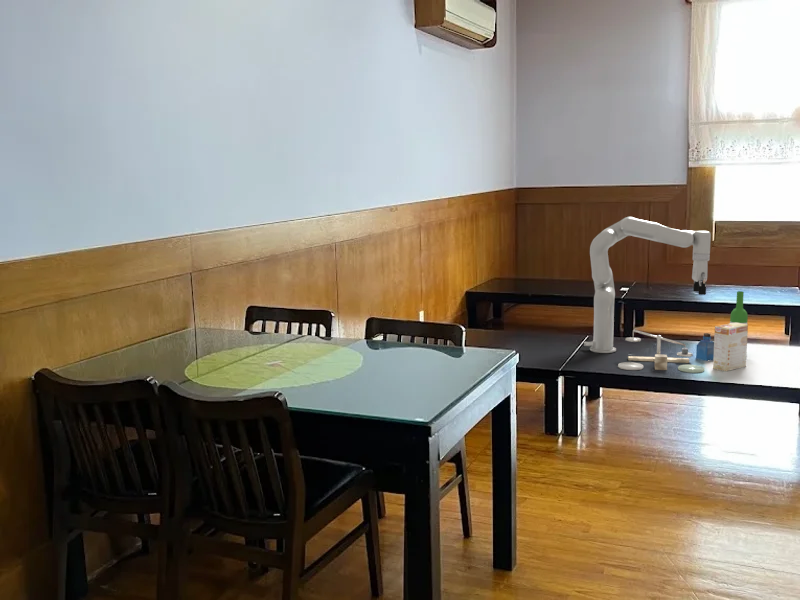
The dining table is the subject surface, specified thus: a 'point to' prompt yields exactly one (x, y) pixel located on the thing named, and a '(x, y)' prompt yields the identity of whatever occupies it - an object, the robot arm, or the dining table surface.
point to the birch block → (660, 362)
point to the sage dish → (691, 368)
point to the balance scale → (659, 338)
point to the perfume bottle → (705, 348)
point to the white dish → (630, 366)
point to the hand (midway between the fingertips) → (699, 293)
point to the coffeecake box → (730, 346)
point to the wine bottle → (739, 311)
